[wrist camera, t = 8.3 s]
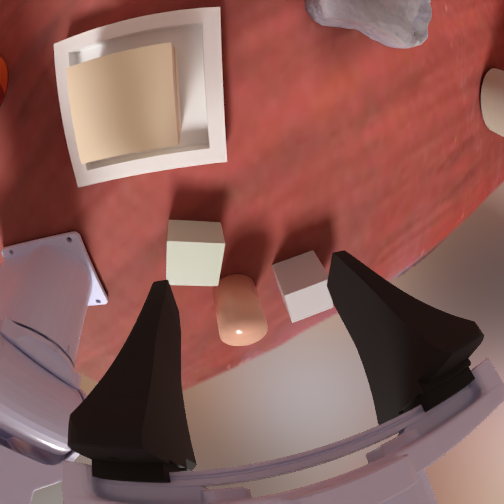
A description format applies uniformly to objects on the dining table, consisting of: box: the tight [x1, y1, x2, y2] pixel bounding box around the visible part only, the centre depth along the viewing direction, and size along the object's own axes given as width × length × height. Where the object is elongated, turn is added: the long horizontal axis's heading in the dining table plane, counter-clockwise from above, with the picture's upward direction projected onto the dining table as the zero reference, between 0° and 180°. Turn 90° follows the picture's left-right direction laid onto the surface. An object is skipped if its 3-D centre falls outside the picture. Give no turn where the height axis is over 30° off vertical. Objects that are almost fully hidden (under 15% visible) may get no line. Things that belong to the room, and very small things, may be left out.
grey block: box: [272, 250, 333, 323], centre depth 25 cm, size 4×4×4 cm
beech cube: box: [66, 42, 182, 164], centre depth 12 cm, size 5×5×5 cm
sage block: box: [166, 220, 225, 286], centre depth 21 cm, size 4×4×3 cm
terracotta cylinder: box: [213, 274, 268, 346], centre depth 24 cm, size 4×4×5 cm
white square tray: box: [54, 7, 227, 188], centre depth 14 cm, size 10×10×2 cm
